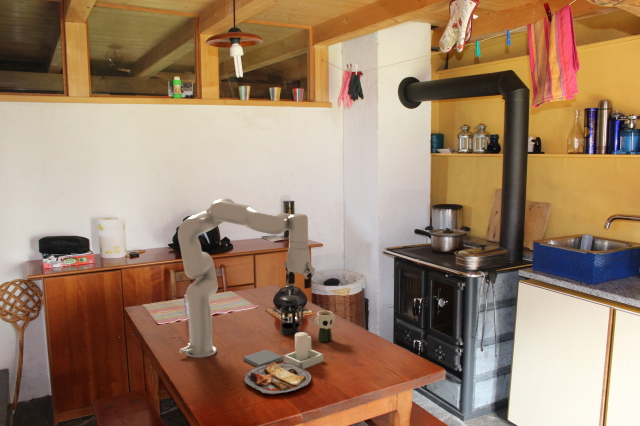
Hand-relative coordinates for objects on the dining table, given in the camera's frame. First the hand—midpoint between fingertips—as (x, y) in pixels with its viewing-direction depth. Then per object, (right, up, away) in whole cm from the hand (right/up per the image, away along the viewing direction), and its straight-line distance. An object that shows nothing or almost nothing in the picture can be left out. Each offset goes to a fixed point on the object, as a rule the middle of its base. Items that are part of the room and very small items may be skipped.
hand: (299, 285), depth 225 cm
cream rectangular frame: (+2, -32, +2) cm, 32 cm away
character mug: (+11, -29, +25) cm, 40 cm away
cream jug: (+1, -32, +1) cm, 32 cm away
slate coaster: (-15, -31, +4) cm, 35 cm away
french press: (-5, -27, +36) cm, 46 cm away
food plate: (-8, -35, -16) cm, 39 cm away
